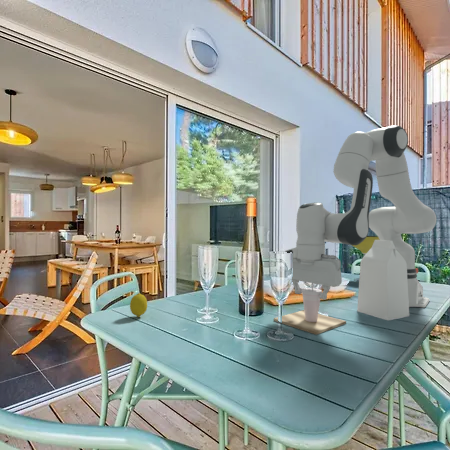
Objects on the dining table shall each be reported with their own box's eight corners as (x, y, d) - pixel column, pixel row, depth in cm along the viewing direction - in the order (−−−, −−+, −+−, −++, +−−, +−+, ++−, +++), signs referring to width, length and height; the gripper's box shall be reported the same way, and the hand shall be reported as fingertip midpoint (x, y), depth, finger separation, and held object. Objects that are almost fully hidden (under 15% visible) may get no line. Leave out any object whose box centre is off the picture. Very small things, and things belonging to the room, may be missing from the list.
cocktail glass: (376, 284, 161) (376, 237, 161) (342, 280, 174) (342, 236, 174) (386, 280, 175) (387, 236, 174) (354, 276, 187) (354, 235, 187)
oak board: (304, 312, 110) (304, 309, 110) (346, 323, 97) (346, 321, 97) (273, 320, 100) (273, 318, 100) (316, 334, 87) (316, 331, 87)
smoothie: (307, 323, 94) (308, 278, 94) (297, 317, 100) (297, 274, 100) (325, 322, 96) (326, 277, 96) (314, 316, 102) (315, 274, 102)
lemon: (142, 320, 99) (142, 295, 99) (126, 319, 100) (126, 294, 100) (150, 315, 104) (150, 291, 104) (135, 314, 105) (135, 290, 105)
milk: (357, 311, 112) (357, 239, 112) (378, 307, 117) (378, 239, 117) (387, 320, 101) (388, 241, 101) (409, 316, 106) (410, 240, 106)
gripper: (345, 255, 92) (345, 301, 92) (291, 250, 108) (291, 289, 108) (334, 256, 88) (334, 304, 88) (279, 251, 104) (279, 292, 104)
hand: (310, 296), depth 99 cm, fingers open, 8 cm apart
